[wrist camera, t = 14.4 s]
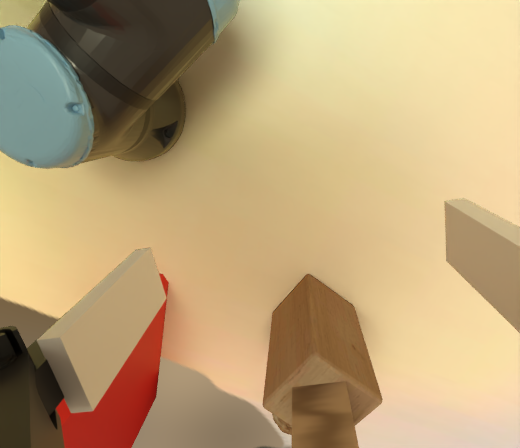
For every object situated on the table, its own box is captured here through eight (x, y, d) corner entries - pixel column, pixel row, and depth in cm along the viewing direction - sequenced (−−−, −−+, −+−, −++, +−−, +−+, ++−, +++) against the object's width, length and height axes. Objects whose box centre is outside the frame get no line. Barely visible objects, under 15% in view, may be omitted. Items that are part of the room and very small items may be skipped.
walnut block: (302, 427, 40) (304, 512, 32) (292, 387, 38) (291, 465, 30) (353, 422, 39) (370, 508, 31) (345, 380, 37) (360, 459, 29)
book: (156, 396, 67) (42, 629, 37) (117, 388, 67) (-28, 612, 37) (169, 275, 58) (34, 451, 28) (124, 265, 59) (-58, 429, 28)
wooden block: (355, 306, 57) (385, 402, 38) (316, 344, 60) (327, 451, 41) (308, 271, 56) (315, 353, 37) (271, 312, 59) (260, 407, 40)
